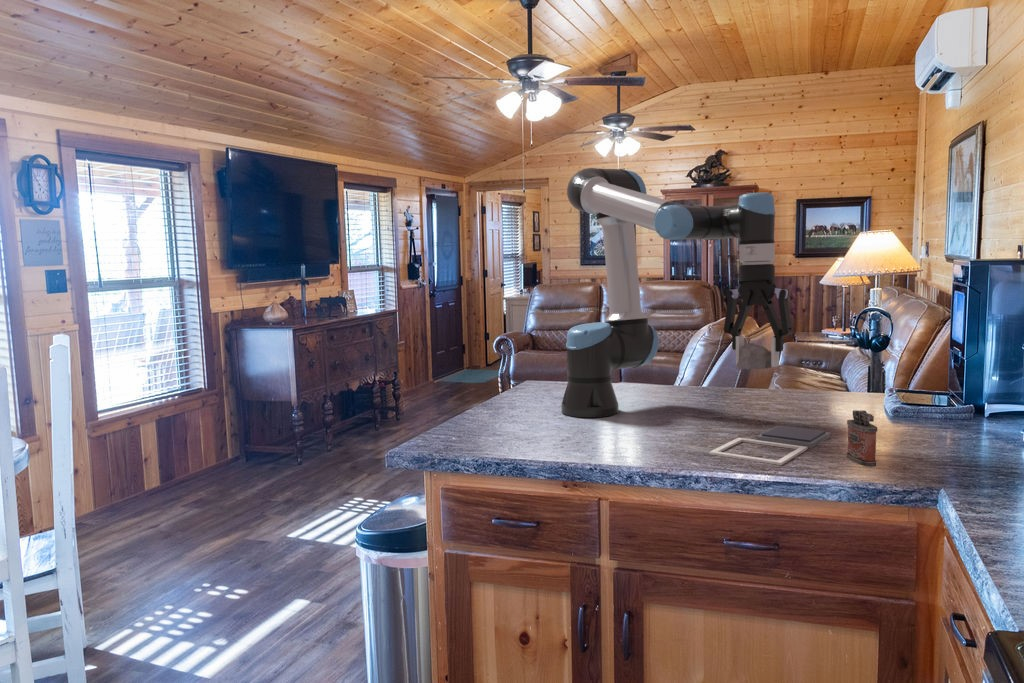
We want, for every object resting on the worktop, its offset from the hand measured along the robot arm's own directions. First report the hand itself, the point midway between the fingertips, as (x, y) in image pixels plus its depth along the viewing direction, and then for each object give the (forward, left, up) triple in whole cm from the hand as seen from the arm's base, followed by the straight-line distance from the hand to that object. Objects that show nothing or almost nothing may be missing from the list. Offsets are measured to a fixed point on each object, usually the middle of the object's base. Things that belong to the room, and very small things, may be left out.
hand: (757, 365), depth 172 cm
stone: (-1, 0, -1) cm, 1 cm away
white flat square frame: (+6, -15, -16) cm, 23 cm away
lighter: (+25, -11, -16) cm, 32 cm away
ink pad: (+8, 0, -16) cm, 18 cm away
